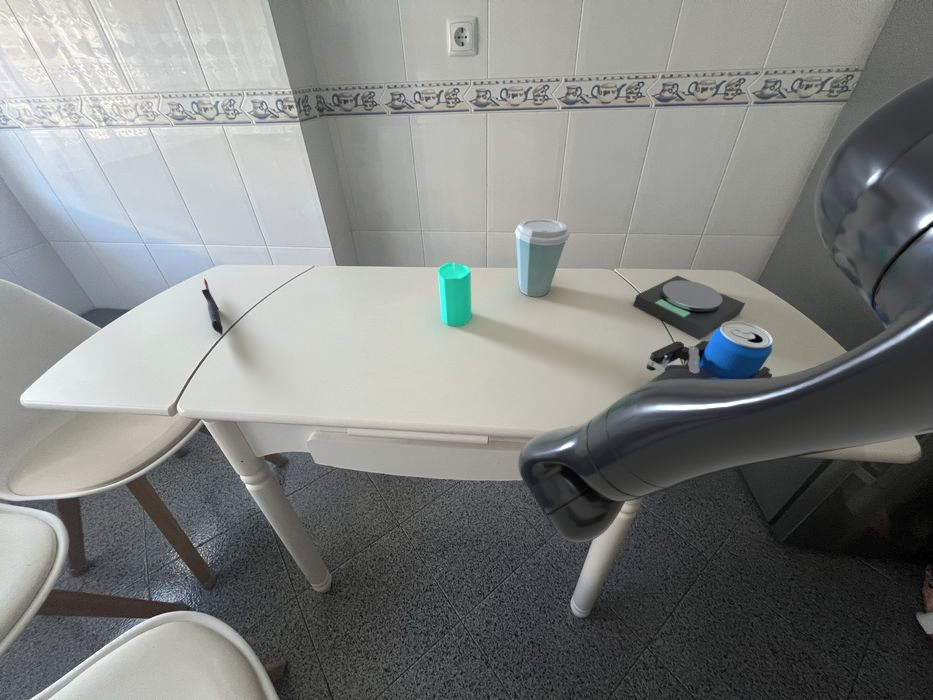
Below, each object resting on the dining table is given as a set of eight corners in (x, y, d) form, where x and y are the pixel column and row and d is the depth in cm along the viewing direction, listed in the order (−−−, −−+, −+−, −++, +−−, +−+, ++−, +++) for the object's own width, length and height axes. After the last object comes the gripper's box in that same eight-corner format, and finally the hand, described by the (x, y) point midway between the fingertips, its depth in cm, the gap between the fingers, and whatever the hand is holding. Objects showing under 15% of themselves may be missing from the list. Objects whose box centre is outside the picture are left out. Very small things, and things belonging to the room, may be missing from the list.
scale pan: (701, 282, 75) (702, 278, 75) (733, 309, 67) (735, 306, 67) (652, 285, 75) (653, 281, 74) (678, 313, 67) (679, 309, 66)
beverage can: (730, 422, 50) (774, 356, 42) (679, 402, 53) (712, 336, 46) (737, 395, 54) (779, 329, 46) (689, 377, 57) (721, 313, 49)
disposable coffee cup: (511, 277, 85) (515, 213, 75) (557, 278, 84) (568, 213, 74) (511, 301, 77) (515, 232, 67) (562, 303, 76) (574, 233, 66)
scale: (699, 339, 66) (705, 327, 64) (633, 305, 75) (636, 294, 73) (739, 314, 71) (745, 302, 70) (673, 285, 80) (677, 274, 79)
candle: (437, 313, 74) (432, 259, 66) (463, 306, 76) (461, 252, 68) (448, 329, 70) (444, 273, 62) (476, 321, 72) (476, 265, 64)
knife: (227, 336, 70) (215, 314, 67) (219, 339, 69) (206, 317, 66) (213, 286, 85) (202, 267, 82) (206, 288, 85) (195, 269, 81)
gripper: (741, 431, 36) (813, 366, 43) (621, 355, 46) (696, 312, 53) (711, 472, 41) (780, 408, 48) (608, 397, 50) (678, 352, 57)
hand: (736, 358), depth 50 cm, fingers closed on beverage can, 6 cm apart
